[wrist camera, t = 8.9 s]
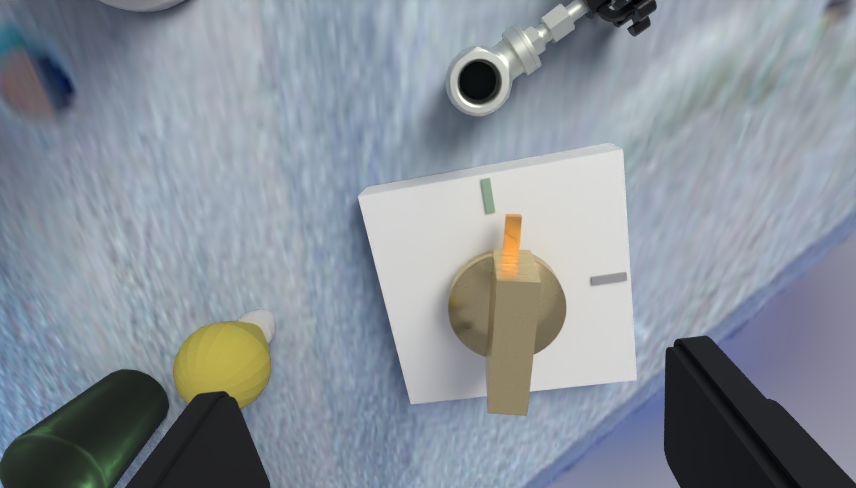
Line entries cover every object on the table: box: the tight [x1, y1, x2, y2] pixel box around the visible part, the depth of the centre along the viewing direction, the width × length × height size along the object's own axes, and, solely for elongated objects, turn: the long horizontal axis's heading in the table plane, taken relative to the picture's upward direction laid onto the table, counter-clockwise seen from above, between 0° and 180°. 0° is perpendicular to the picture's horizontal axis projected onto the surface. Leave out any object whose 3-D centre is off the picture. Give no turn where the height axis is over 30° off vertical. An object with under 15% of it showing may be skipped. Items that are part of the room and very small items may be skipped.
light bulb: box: [173, 309, 276, 409], centre depth 36 cm, size 7×7×10 cm
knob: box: [448, 214, 567, 416], centre depth 30 cm, size 11×8×8 cm
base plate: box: [358, 143, 637, 404], centre depth 36 cm, size 18×18×3 cm
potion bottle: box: [0, 370, 169, 488], centre depth 36 cm, size 8×8×18 cm
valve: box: [445, 0, 657, 117], centre depth 28 cm, size 7×7×12 cm
